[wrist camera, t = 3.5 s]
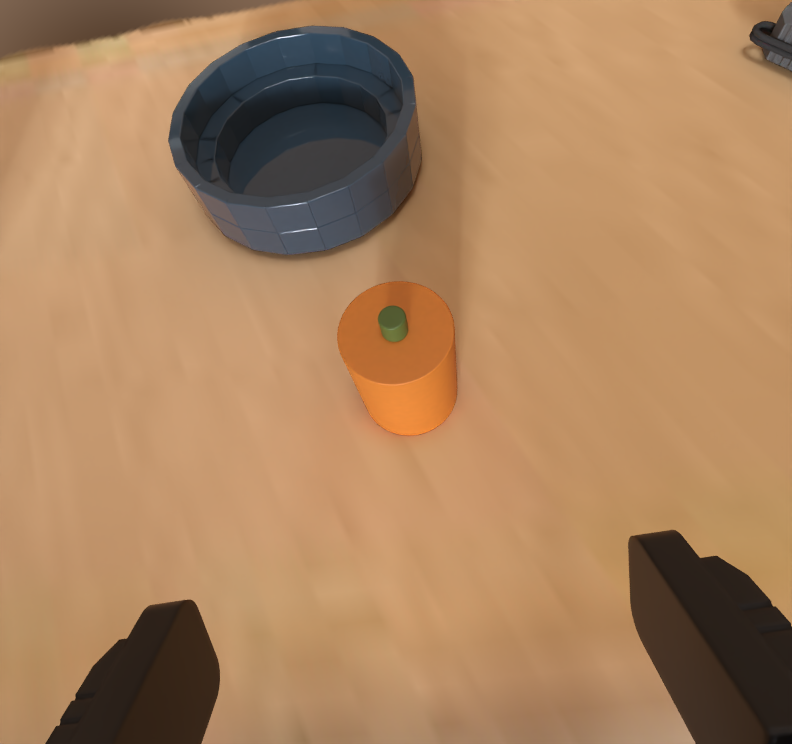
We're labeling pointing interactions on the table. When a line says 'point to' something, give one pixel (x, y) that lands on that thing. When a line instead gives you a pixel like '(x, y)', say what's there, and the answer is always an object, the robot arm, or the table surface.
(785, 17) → the grey and red device
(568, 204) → the table surface
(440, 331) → the squash
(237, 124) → the bowl
